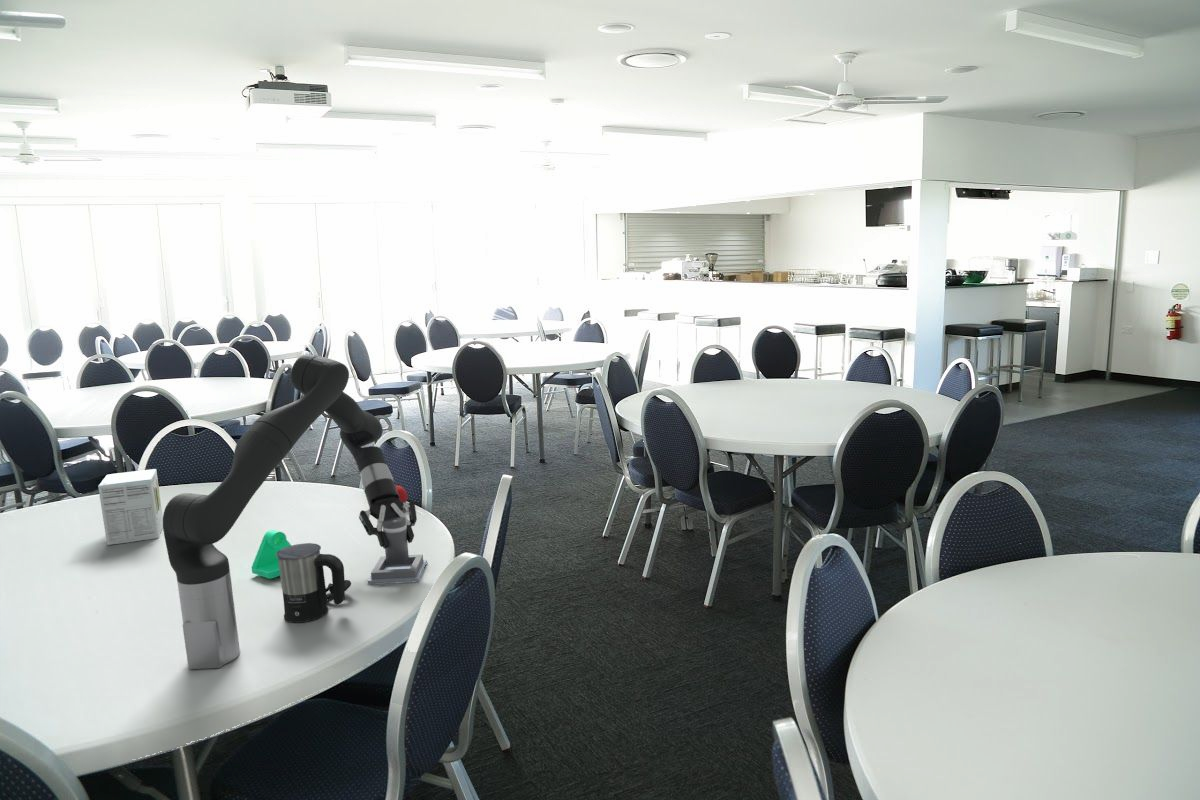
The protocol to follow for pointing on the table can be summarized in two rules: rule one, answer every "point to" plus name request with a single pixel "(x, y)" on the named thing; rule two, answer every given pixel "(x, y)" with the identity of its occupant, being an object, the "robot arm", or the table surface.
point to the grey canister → (396, 539)
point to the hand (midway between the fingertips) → (398, 543)
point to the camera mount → (269, 554)
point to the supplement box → (131, 506)
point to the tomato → (401, 493)
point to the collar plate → (398, 570)
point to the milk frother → (309, 581)
